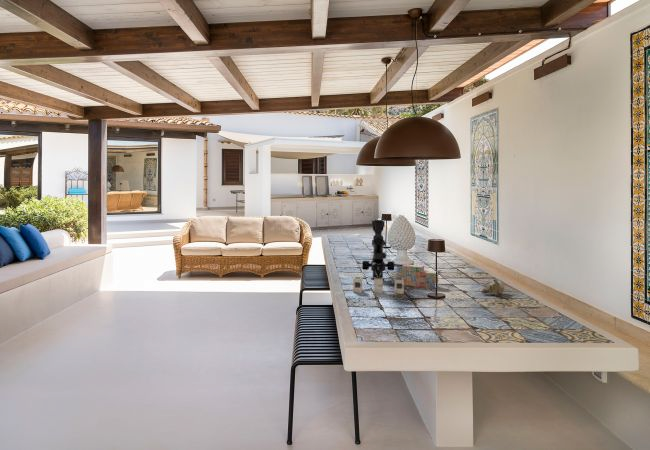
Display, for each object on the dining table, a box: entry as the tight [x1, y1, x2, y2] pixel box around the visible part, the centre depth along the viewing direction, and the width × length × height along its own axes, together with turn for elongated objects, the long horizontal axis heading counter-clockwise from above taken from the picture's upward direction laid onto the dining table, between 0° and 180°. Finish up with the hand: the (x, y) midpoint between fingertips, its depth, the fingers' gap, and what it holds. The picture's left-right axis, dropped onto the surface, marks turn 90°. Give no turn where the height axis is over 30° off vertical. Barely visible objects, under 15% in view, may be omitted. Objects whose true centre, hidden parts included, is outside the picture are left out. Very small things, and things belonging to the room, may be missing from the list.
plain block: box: [373, 277, 384, 294], centre depth 281 cm, size 5×5×8 cm
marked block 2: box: [394, 277, 405, 295], centre depth 280 cm, size 5×5×8 cm
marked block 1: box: [352, 276, 363, 294], centre depth 282 cm, size 5×5×8 cm
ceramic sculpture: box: [480, 279, 505, 297], centre depth 276 cm, size 11×9×15 cm
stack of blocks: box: [401, 263, 439, 289], centre depth 298 cm, size 21×6×12 cm, turn 62°
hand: (378, 277), depth 281 cm, fingers closed
